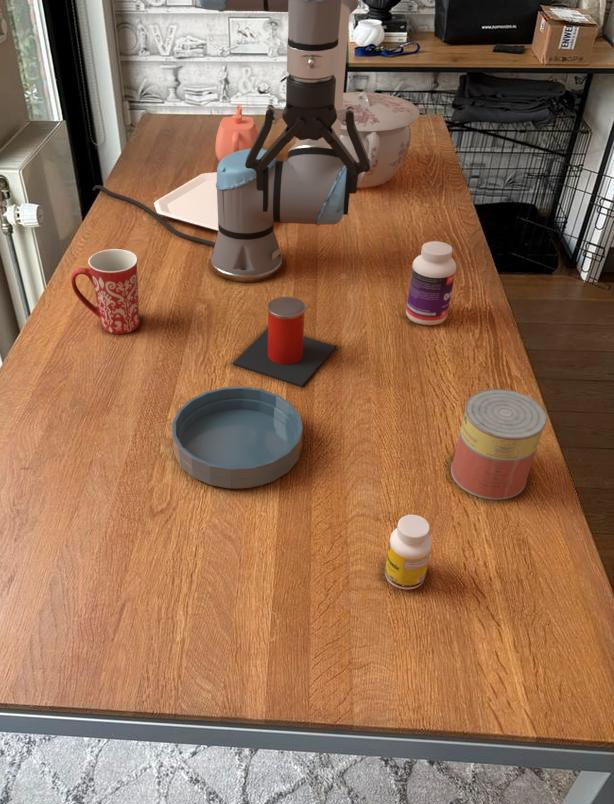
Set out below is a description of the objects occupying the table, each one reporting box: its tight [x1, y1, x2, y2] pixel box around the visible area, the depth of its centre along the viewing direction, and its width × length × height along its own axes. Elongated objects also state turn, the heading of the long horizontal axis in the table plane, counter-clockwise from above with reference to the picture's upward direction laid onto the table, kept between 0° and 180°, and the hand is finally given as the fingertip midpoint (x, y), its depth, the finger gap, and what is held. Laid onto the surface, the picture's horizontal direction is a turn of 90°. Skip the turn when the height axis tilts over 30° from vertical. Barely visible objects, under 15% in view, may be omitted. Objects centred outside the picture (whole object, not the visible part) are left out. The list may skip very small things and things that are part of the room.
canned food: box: [450, 388, 548, 501], centre depth 115 cm, size 11×11×12 cm
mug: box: [70, 248, 140, 335], centre depth 146 cm, size 13×9×14 cm
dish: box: [171, 385, 304, 490], centre depth 122 cm, size 20×20×4 cm
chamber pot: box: [340, 91, 421, 189], centre depth 195 cm, size 28×28×21 cm
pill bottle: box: [405, 240, 457, 326], centre depth 147 cm, size 8×8×14 cm
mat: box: [232, 328, 337, 388], centre depth 142 cm, size 14×14×1 cm
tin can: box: [267, 296, 306, 365], centre depth 139 cm, size 7×7×10 cm
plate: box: [153, 171, 218, 233], centre depth 188 cm, size 29×29×2 cm
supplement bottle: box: [384, 514, 433, 590], centre depth 101 cm, size 5×5×10 cm
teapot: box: [214, 104, 259, 162], centre depth 206 cm, size 20×12×12 cm, turn 178°
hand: (305, 209), depth 132 cm, fingers open, 13 cm apart
